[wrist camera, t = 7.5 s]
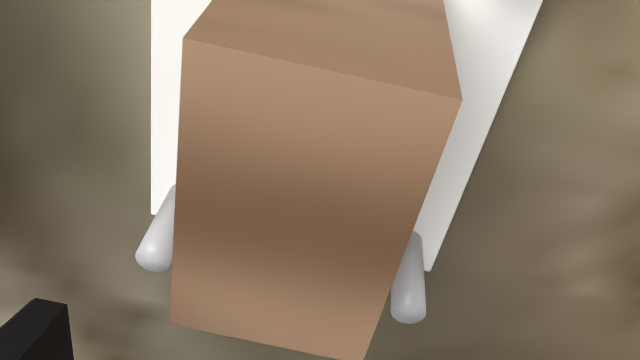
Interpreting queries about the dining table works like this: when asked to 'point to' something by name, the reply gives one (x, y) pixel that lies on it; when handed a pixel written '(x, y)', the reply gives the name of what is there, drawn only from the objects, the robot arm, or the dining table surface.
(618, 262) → the dining table surface
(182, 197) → the walnut block
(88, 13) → the dining table surface
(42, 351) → the robot arm
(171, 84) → the standoff plate
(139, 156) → the dining table surface
